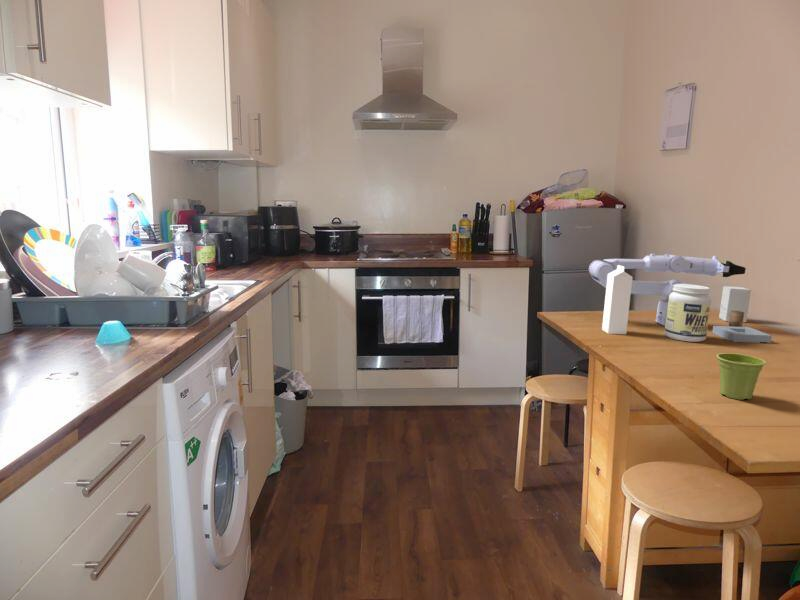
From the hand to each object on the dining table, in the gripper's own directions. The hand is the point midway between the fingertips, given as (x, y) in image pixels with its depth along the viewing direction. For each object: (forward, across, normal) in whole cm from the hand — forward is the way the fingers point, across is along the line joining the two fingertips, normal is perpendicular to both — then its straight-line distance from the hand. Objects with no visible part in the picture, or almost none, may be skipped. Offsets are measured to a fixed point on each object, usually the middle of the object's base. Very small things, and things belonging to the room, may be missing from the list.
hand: (738, 269), depth 199 cm
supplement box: (+9, +14, +20) cm, 26 cm away
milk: (-46, -16, +24) cm, 54 cm away
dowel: (-1, -6, +21) cm, 22 cm away
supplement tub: (-25, -20, +23) cm, 39 cm away
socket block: (-5, -17, +22) cm, 28 cm away
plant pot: (-40, -77, +26) cm, 90 cm away
